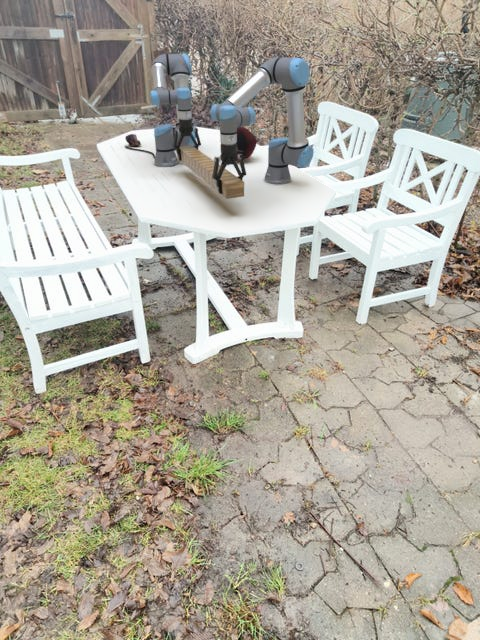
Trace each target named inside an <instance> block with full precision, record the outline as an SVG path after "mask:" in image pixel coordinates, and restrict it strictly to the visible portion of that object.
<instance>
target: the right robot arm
mask: <svg viewBox="0 0 480 640" xmlns="http://www.w3.org/2000/svg"><path fill="white" fill-rule="evenodd" d="M310 76H311V70H310V66H309V63H308V62H307V61H306V59H303V58H299V57H287V56H285V57H284V56H276V57H273V58H271V59H268V60H267V61H265V62H263V63H262V64H261V65H260V66H259V67H257V68H256V70H255V71H254V74H253V75H252V76H251V77H250V78H249V79H247V80H246V81H245V82H244V83H242V85H241V86H240V87H239V88H237V89H236V90H235V91H234V92H233V93H232V94H230V95H229V97H227V98H226V99H225V100H224V101H223V102H221V103H215V104H213V105H212V106H211V108H210V111H209V113H210V114H209V115H210V118H211V120H213V121H214V122H218V123H219V138H220V139H219V141H220V155H219V156H215V157H214V159H213V160H214V161H215V164H214V170H213V175H212V178H213V179H214V180H216V186H217V187H218V192H217V193H218V194H220V195H221V194H222V181H221V180H220V178H221V176H222V174H223V171H224V169H226V167H227V166H229V165H233V167H234V169H235V171H236V173H237V175H238V176H236V177H238V178H239V179H241V180H242V181H244V180H243V179H244V177H245V176H247V169H246V166H245V162H244V161H245V160H244V161H243V155H242V154H237V144H236V142H237V128H238V127H246V126H247V127H248V126H250V125H252V124H254V122H256V118H257V117H256V116H257V115H256V111H255V109H254V108H253V107H251V106H246V105H247V104H248V103H249V102H250V101H251V100H252V99H253V98H255V97H256V96H257V95H258V94H259V93H260V92H261V91H262V90H263V89H267V88H268V87H270V86H271V85H275V84H278V85H281V91H282V93H284V94H285V104H286V116H287V126H288V137H277V138H273V139H270V140H269V142H268V148H267V149H268V152H267V153H268V157H267V159H268V161H267V162H268V163H267V168H266V171H265V175H264V181H265V182H266V183H268V184H273V185H280V184H281V185H283V184H288V183H290V182H291V180H292V177H291V172H290V168H289V166H292V167H297V168H307V167H308V166H309V165H310V164H311V162H312V160H313V158H314V154H315V153H314V152H315V151H314V148H313V146H311V145H310V143H309V142H310V141H309V139H308V138H307V137H306V124H305V123H306V122H305V109H304V90H305V89H306V86H307V85H308V83H309V81H310ZM221 143H222V144H221ZM237 157H238V159H239V161H238V162H239V164H238V163H237V161H236V159H237ZM220 162H221V163H220ZM219 165H221V167H220V169H219V171H218V167H219ZM239 166H240V167H239ZM217 172H218V174H217Z"/></svg>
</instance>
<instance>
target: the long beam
mask: <svg viewBox="0 0 480 640" xmlns="http://www.w3.org/2000/svg"><path fill="white" fill-rule="evenodd" d="M179 149H181V161H180V162H181V163H183V165H184V166H185V167H187V168H188V169H190V170H191V172H193V173H194V174H195V175H197V176H198V177H199V178H200V179H202V180H203V181H204V182H205V183H207V184H208V185H209V186H210V187H211V188H212V189H214V190H215V191H216V192H217V193H218V187H217V186H216V180H214V179H213V178H212V175H213V170H214V164H215V160H214V159H212V158H211V157H209V156H208V155H206V154H205V153H203V151H201V150H199V148H198V149H196V148H195V147H193V146H192V145H187V146H180V148H179ZM176 157H177V159H178V160H179V156H178V155H177V154H176ZM220 167H221V164H219V167H218V171H219V169H220ZM217 174H218V172H217ZM220 180H221V181H222V194H220V195H221V196H222V197H224V199H226V200H229V199H235V198H243V197H245V181H244V180H243V181H242V180H241V179H239V178H238V177H237V176H236V175H235V174H234V173H232V172H231V171H229V170H228V169H227V168H225V169H224V171H223V174H222V176H221V178H220Z"/></svg>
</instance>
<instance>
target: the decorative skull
mask: <svg viewBox="0 0 480 640" xmlns="http://www.w3.org/2000/svg"><path fill="white" fill-rule="evenodd" d="M257 143H258V141H257V138H256V136H255V135H254V133H253V132H252V131H250V130H249V129H248V128H246V127H245V126H242V127H238V128H237V142H236V144H237V154H242V155H243V161H246V160H248V159H249V158H250V157H251V156H252V155H253V154H254V151H255V149H256V146H257ZM221 144H222V143H221V142H220V145H221ZM236 162H239V159H238V157H237V159H236Z"/></svg>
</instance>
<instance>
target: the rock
mask: <svg viewBox="0 0 480 640" xmlns="http://www.w3.org/2000/svg"><path fill="white" fill-rule="evenodd" d="M125 141H126V143H127V144H128V145H129V147H139V146H141V145H142V143H141V141H140V140H139V139H138V137H137V134H134V133H130V134H127V135H125Z"/></svg>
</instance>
